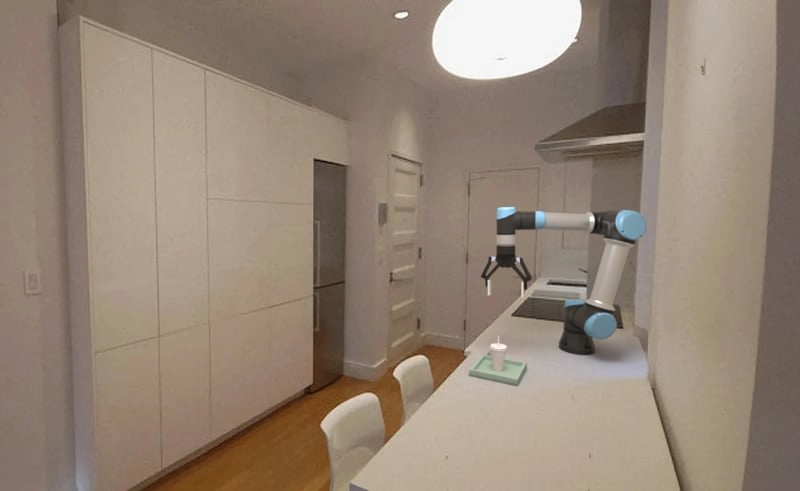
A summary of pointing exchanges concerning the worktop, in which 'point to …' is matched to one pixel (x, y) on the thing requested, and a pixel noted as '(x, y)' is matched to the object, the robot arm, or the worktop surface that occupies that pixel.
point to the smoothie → (498, 355)
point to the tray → (508, 376)
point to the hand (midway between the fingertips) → (505, 296)
